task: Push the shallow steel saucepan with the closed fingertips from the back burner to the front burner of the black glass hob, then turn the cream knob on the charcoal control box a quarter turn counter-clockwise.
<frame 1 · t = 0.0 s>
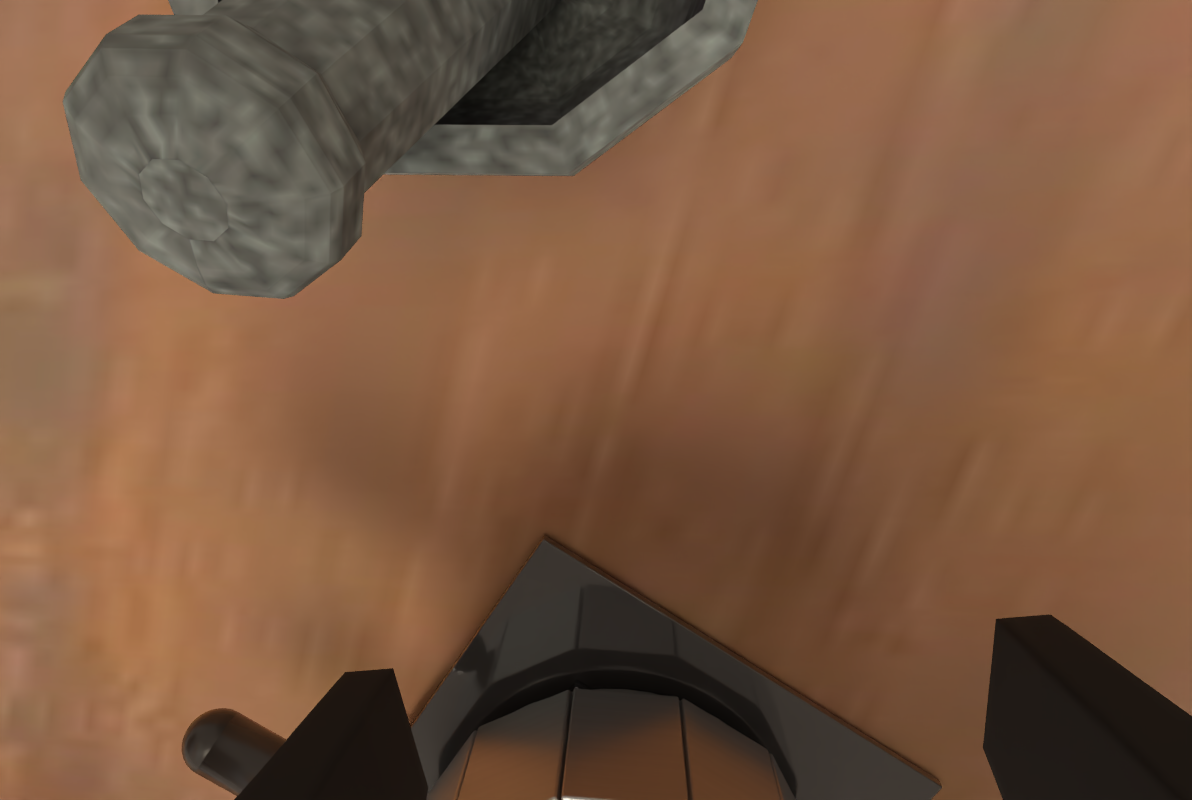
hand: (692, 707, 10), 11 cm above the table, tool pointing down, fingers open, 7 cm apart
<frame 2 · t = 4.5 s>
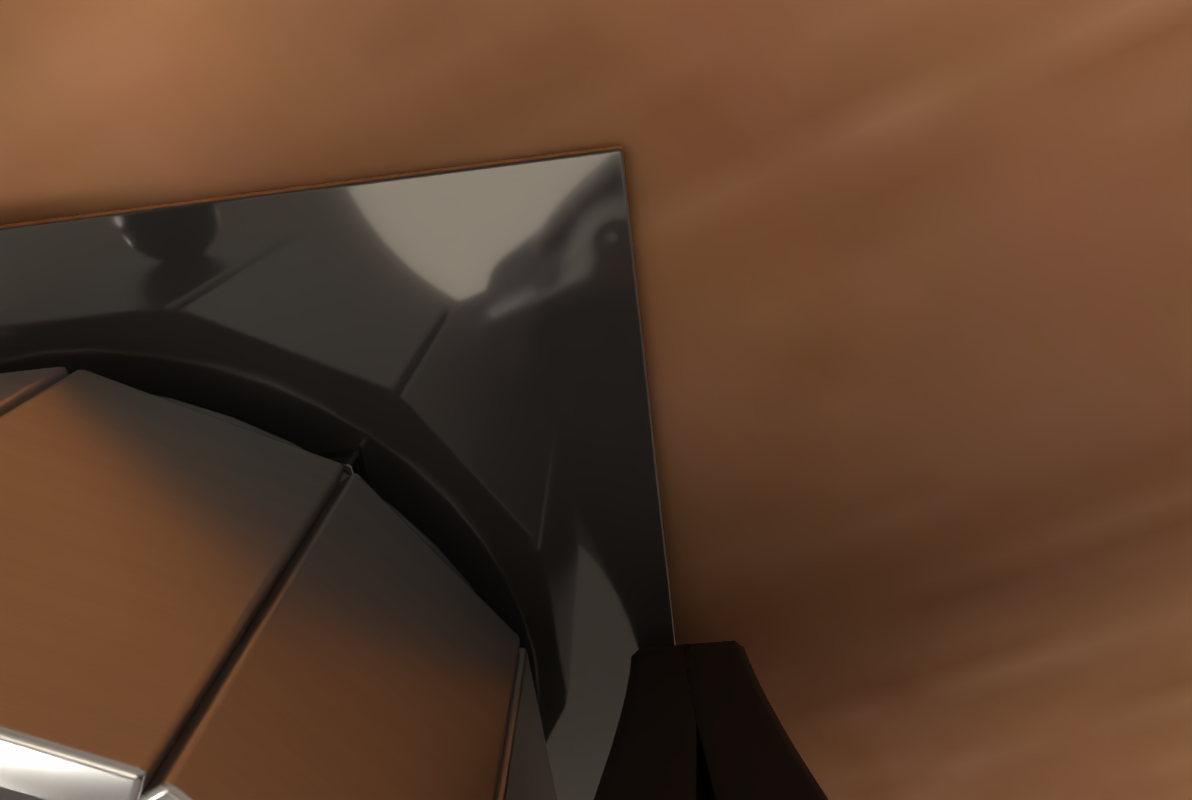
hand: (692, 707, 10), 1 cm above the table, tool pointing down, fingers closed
saucepan: (168, 707, 11), resting on hob, touching gripper
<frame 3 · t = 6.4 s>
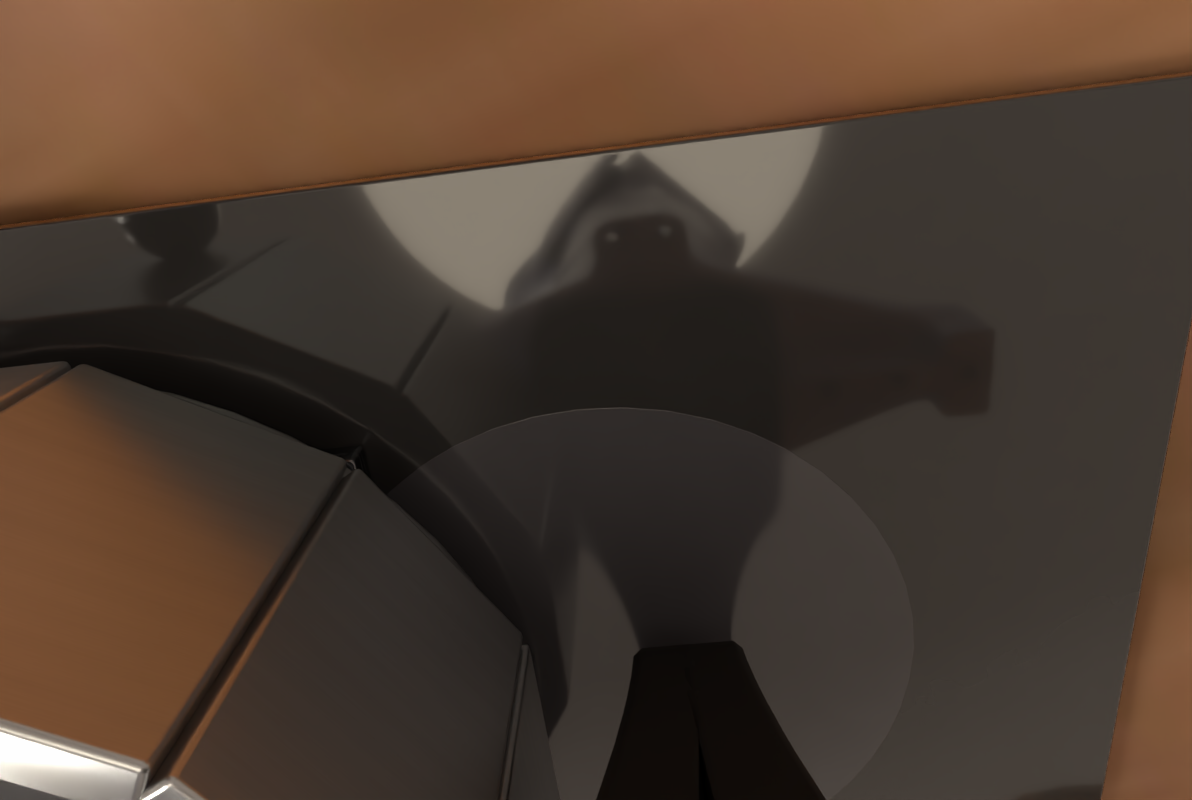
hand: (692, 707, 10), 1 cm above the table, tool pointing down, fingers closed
hob: (327, 679, 11), on the table
saucepan: (169, 704, 11), resting on hob, touching gripper
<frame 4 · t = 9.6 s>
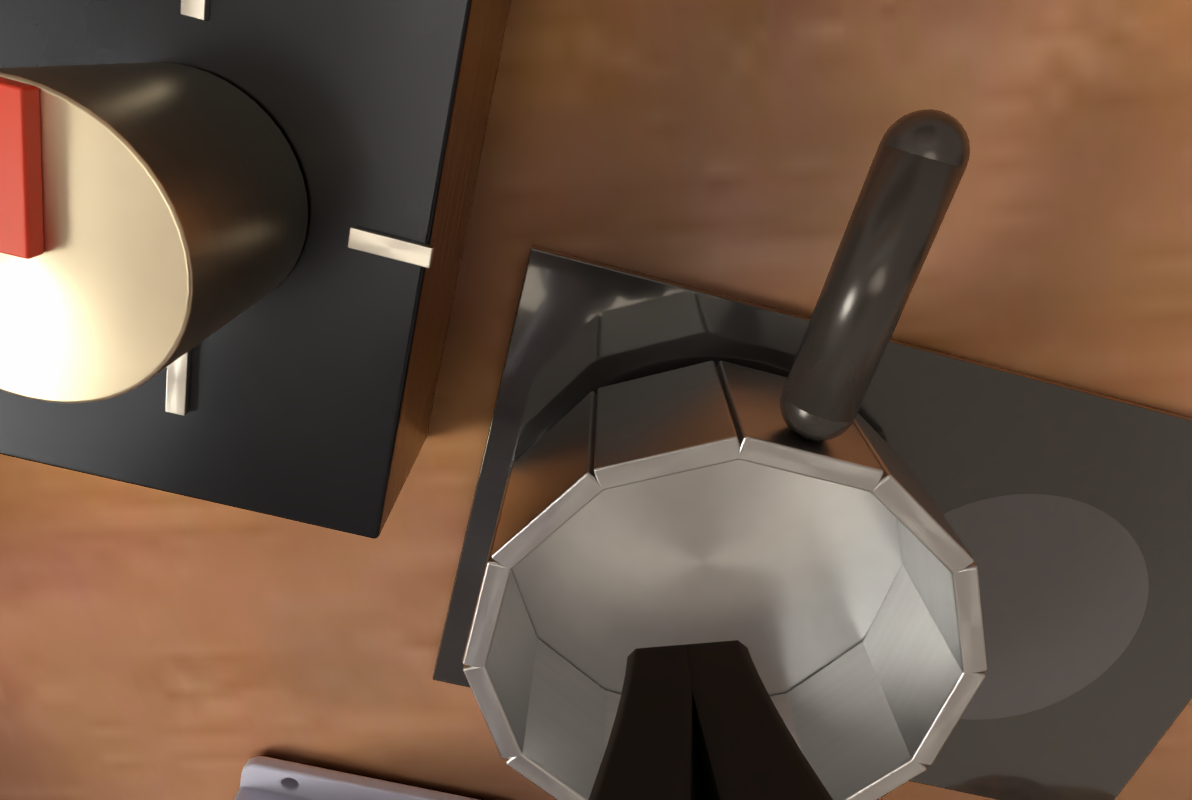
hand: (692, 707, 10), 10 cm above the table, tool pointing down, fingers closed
hob: (858, 575, 21), on the table
saucepan: (700, 540, 21), resting on hob
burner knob: (111, 220, 11), point 7 cm above the table, hinge at 0.0°
control box: (290, 158, 17), on the table
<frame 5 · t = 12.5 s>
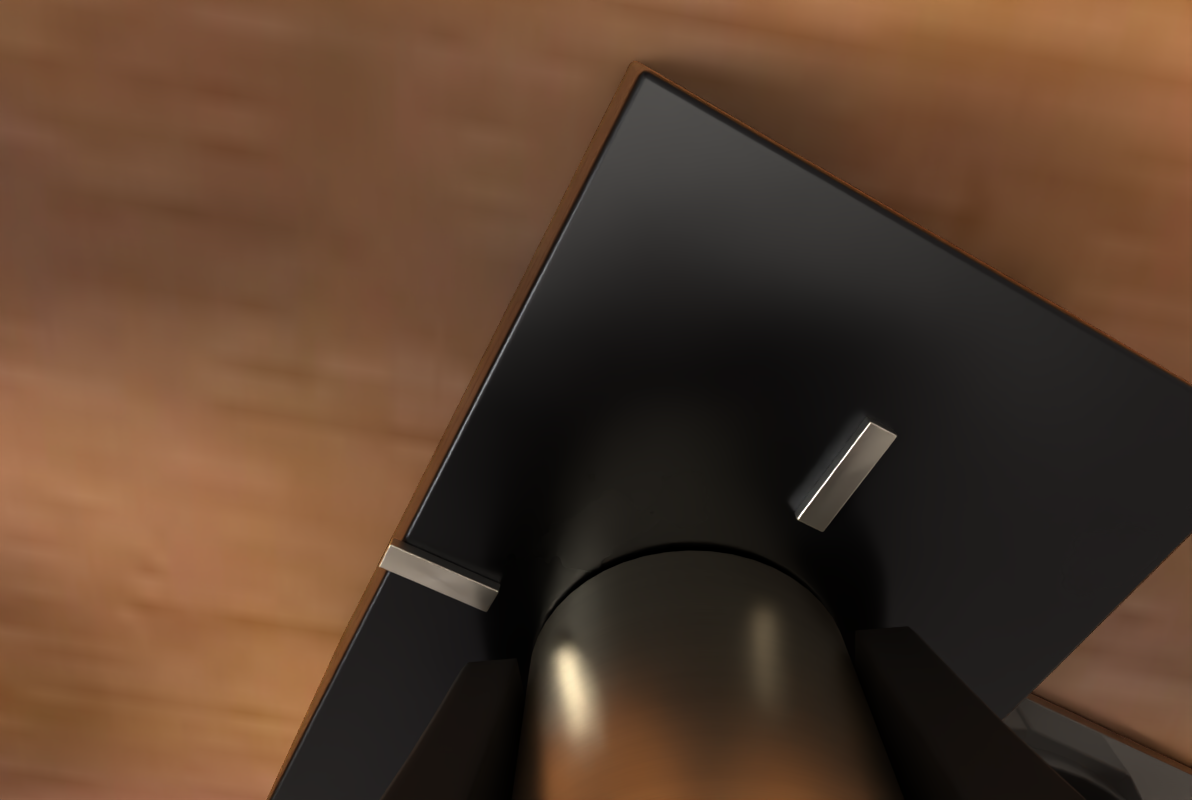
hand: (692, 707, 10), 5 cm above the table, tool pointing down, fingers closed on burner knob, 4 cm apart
control box: (666, 494, 14), on the table
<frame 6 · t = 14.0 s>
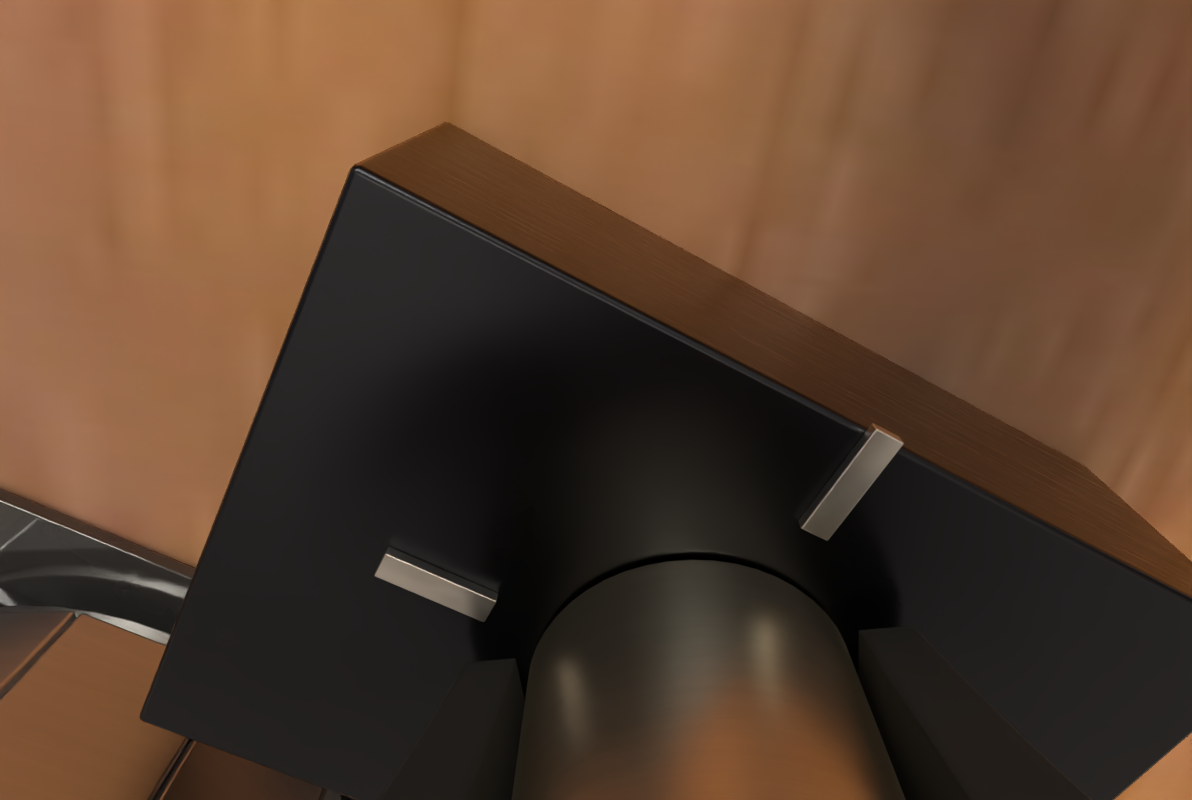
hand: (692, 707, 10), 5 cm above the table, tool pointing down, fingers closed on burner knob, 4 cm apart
saucepan: (114, 781, 17), resting on hob
control box: (666, 498, 14), on the table
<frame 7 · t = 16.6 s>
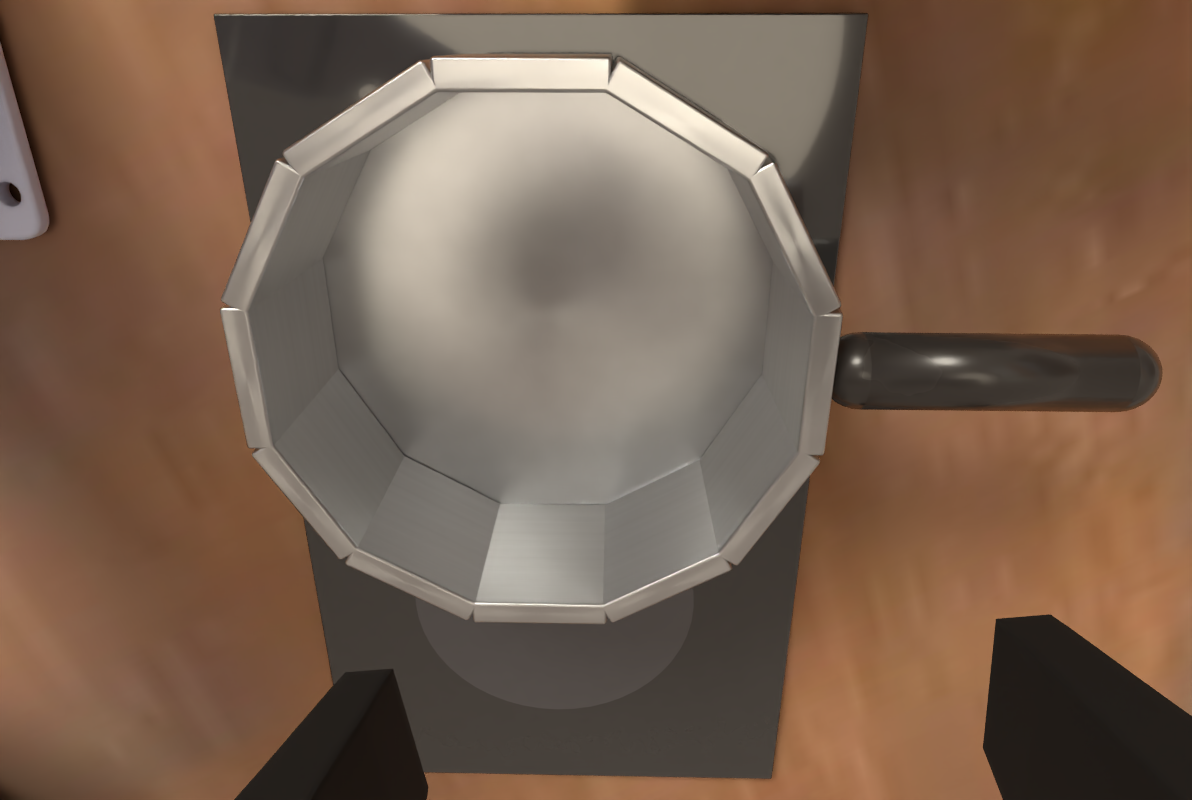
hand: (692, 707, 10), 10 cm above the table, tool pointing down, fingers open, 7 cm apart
hob: (551, 470, 20), on the table
saucepan: (551, 303, 18), resting on hob
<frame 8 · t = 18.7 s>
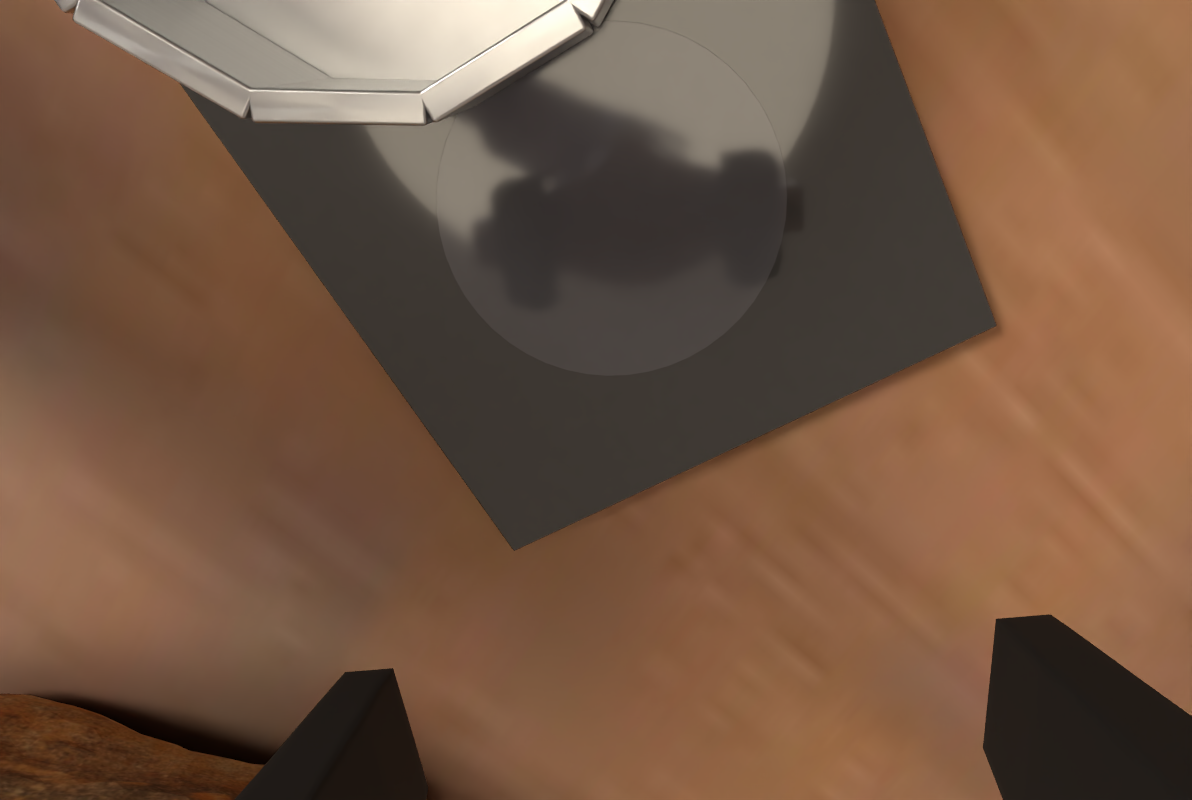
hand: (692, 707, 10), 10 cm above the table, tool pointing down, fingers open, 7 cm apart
hob: (516, 38, 16), on the table
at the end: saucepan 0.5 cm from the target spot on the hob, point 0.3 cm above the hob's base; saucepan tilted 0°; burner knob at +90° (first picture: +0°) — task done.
